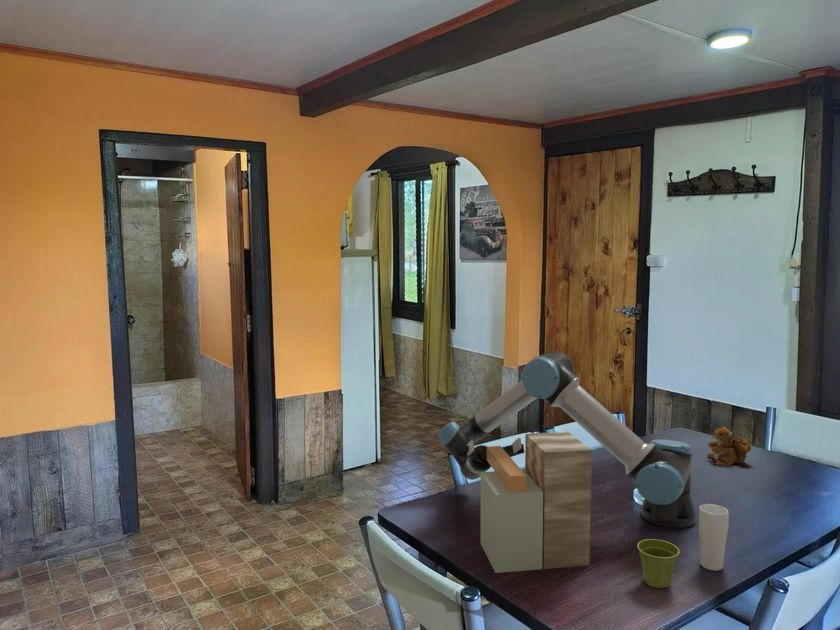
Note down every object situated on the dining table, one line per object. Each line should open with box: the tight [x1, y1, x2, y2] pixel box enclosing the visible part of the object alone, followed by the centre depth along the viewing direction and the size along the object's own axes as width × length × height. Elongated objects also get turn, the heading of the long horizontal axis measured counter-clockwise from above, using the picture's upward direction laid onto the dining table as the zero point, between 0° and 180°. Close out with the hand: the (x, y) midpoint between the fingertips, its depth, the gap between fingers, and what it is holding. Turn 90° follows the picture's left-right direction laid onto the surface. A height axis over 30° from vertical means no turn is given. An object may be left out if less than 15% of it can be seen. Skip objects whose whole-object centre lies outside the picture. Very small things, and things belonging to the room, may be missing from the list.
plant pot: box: [636, 538, 680, 589], centre depth 150 cm, size 9×9×9 cm
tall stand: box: [524, 431, 593, 570], centre depth 164 cm, size 16×12×30 cm
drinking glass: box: [698, 503, 730, 572], centre depth 157 cm, size 7×7×15 cm
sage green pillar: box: [480, 469, 543, 574], centre depth 163 cm, size 16×12×20 cm
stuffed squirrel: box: [706, 426, 753, 467], centre depth 234 cm, size 10×14×13 cm
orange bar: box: [487, 445, 526, 492], centre depth 167 cm, size 24×4×4 cm, turn 8°
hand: (496, 444), depth 174 cm, fingers open, 13 cm apart
